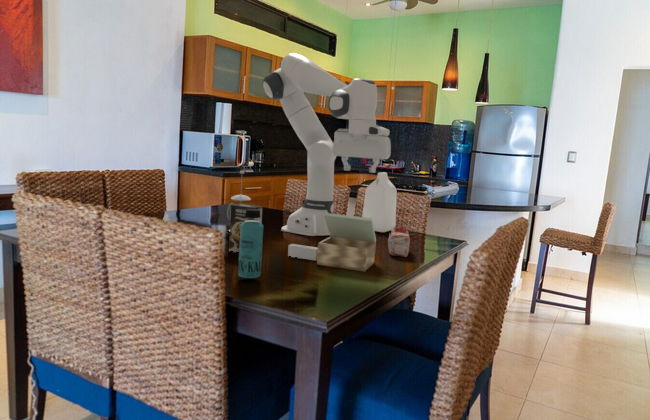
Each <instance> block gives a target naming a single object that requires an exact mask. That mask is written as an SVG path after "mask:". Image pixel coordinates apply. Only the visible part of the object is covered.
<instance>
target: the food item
mask: <svg viewBox="0 0 650 420" xmlns="http://www.w3.org/2000/svg"><path fill="white" fill-rule="evenodd" d="M393 228H394V227H393ZM390 231H391V232H389V235H388V239H387V242H388V243H387V246H388V248H387V249H388V252H389V254H390V255H391V256H393V257H394V256H395V257H400V258H408V256H409V252H410V244H411V243H410V242H411V240H410V234H409V231H408V229H407V228H405V227H403V226H400V227H395V228H394V229H392V230H390Z"/></svg>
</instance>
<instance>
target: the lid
mask: <svg viewBox="0 0 650 420" xmlns="http://www.w3.org/2000/svg"><path fill="white" fill-rule="evenodd" d="M324 217H325V221H326V224H327V227H328V230H329V234H330V235H329V237H336V238H344V239H351V240H359V241H366V242H374V243H376V242H377V238H376V233H375V232H376V231H374V226H373V221H372V218H364V217H362V216H354V215H347V214H346V215H345V214H339V213H338V214H337V213H332V214H330V213H324ZM376 244H377V243H376Z"/></svg>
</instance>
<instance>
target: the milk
mask: <svg viewBox="0 0 650 420" xmlns="http://www.w3.org/2000/svg"><path fill="white" fill-rule="evenodd" d="M397 193H398V192H397V188H396V186H395V185H394V184H393V183H392V182H391V180H390V178H389V177H388V173H387V172H384V171H383V172H378V173H377V177H376V179H374V181H371V183H369V185H367V187H366V188H365V192H364V200H363V208H362V214H361V217H364V218H372V221H373V226H374V231H375V232H379V233H386V232H390V231H392V229H394V228H396V219H397V218H396V217H397V199H398V198H397ZM393 227H394V228H393Z"/></svg>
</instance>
